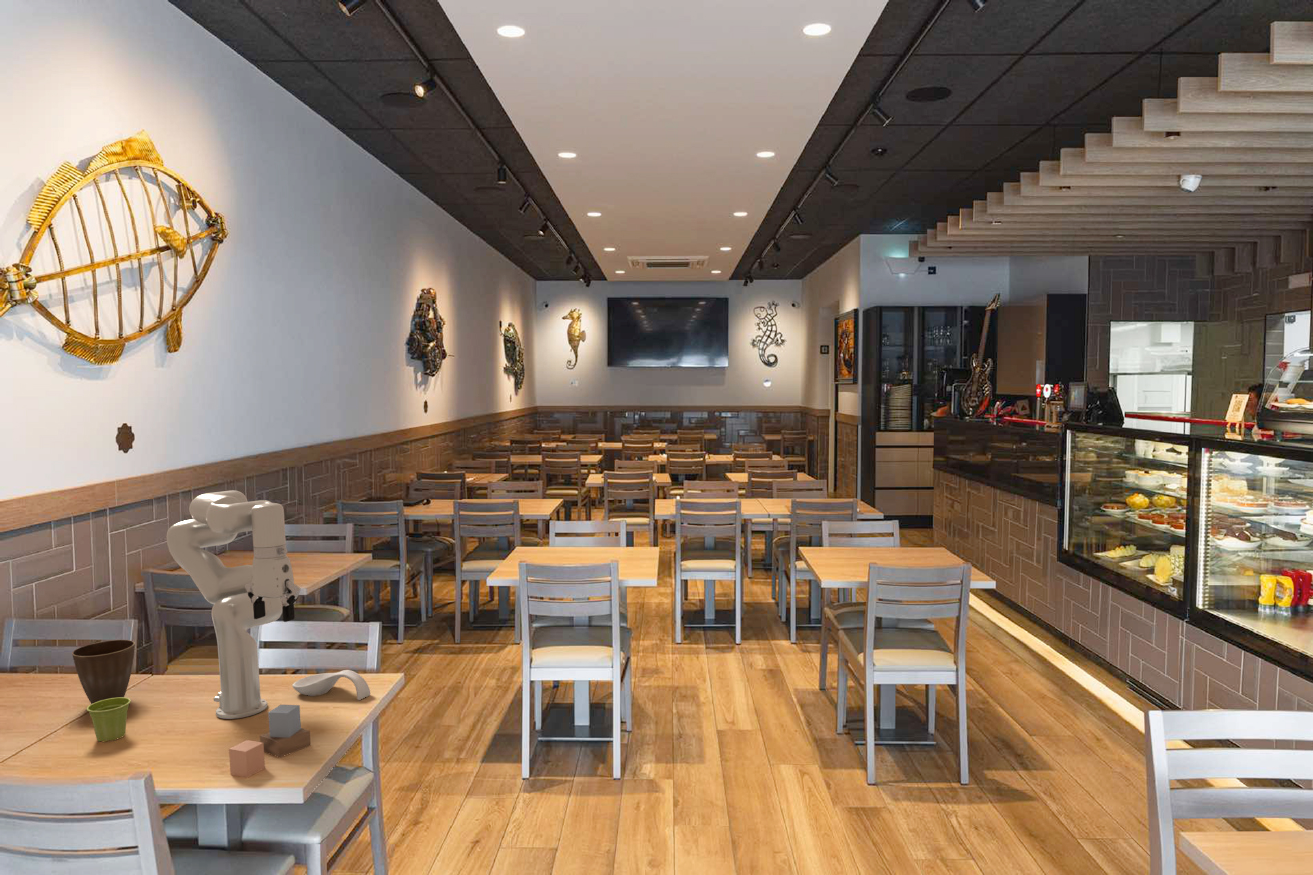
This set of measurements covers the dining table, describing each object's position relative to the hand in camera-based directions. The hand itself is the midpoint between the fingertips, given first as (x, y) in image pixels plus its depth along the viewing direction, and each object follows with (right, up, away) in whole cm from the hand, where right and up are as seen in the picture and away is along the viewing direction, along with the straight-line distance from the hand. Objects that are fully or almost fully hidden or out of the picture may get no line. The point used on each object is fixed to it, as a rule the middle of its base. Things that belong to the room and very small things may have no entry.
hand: (274, 618), depth 219 cm
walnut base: (+8, -29, -11) cm, 32 cm away
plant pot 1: (-58, -29, +24) cm, 69 cm away
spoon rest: (+5, -27, +26) cm, 38 cm away
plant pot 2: (-41, -30, -1) cm, 51 cm away
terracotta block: (+4, -30, -23) cm, 38 cm away
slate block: (+8, -25, -11) cm, 29 cm away
